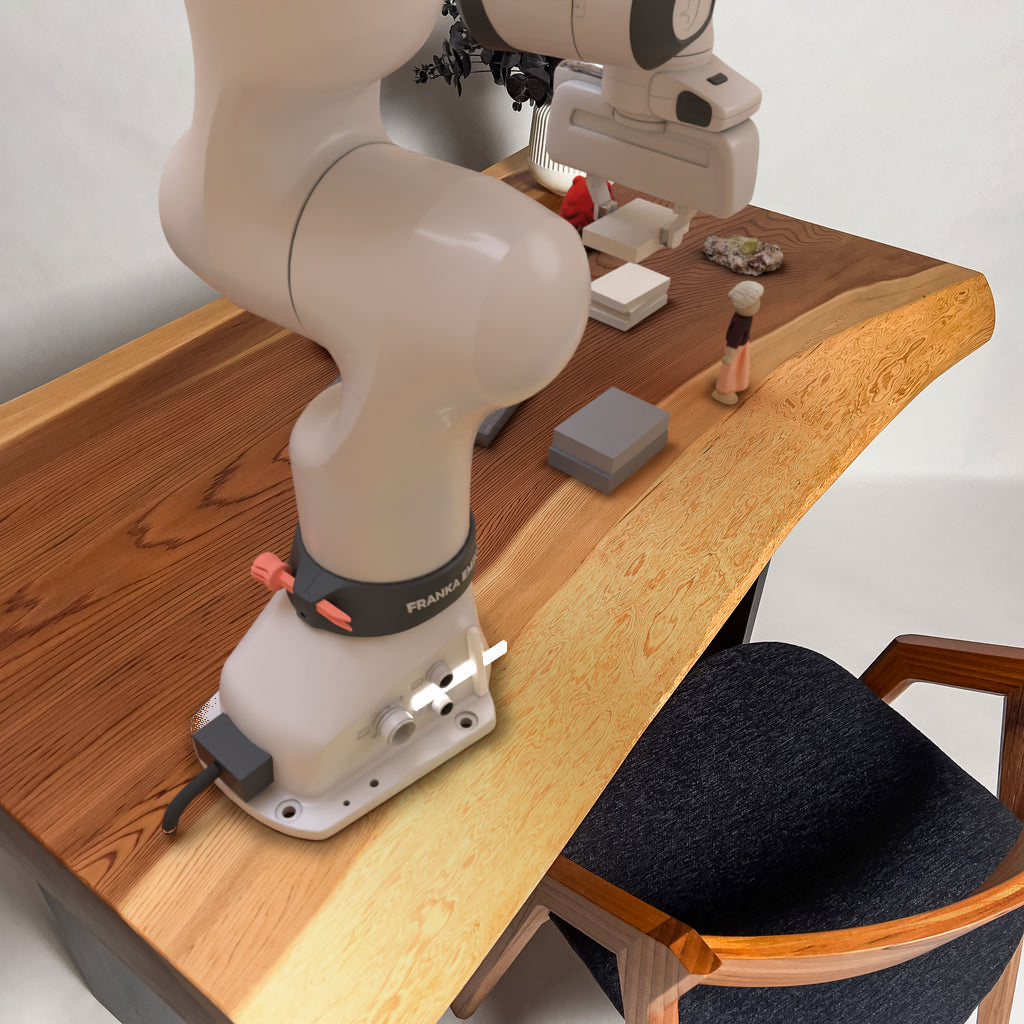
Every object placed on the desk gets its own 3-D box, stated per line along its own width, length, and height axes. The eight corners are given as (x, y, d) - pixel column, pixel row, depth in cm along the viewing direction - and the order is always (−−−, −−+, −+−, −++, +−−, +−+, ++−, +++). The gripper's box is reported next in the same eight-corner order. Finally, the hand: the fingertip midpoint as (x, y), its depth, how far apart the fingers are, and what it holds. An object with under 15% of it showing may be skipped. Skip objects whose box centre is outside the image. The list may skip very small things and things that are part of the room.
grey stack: (607, 495, 88) (611, 461, 86) (547, 464, 92) (549, 430, 89) (665, 446, 94) (671, 413, 92) (607, 418, 98) (611, 385, 95)
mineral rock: (793, 239, 125) (782, 246, 119) (785, 272, 127) (774, 281, 121) (713, 224, 129) (698, 230, 122) (707, 256, 131) (691, 264, 124)
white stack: (624, 333, 111) (628, 305, 108) (578, 314, 114) (580, 286, 111) (670, 302, 116) (674, 275, 114) (625, 285, 120) (628, 258, 117)
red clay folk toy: (617, 236, 130) (630, 123, 120) (608, 258, 125) (620, 142, 115) (562, 228, 131) (570, 116, 121) (551, 250, 126) (558, 135, 116)
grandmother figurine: (745, 412, 99) (771, 302, 91) (708, 407, 100) (730, 297, 91) (746, 373, 105) (771, 266, 97) (711, 368, 105) (732, 261, 97)
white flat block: (635, 264, 86) (637, 248, 85) (581, 244, 89) (582, 227, 88) (688, 231, 91) (691, 215, 90) (636, 213, 94) (637, 197, 93)
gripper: (534, 58, 83) (529, 210, 93) (741, 117, 74) (713, 280, 83) (577, 42, 87) (568, 190, 96) (781, 96, 77) (749, 254, 87)
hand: (637, 232), depth 90 cm, fingers closed on white flat block, 6 cm apart
